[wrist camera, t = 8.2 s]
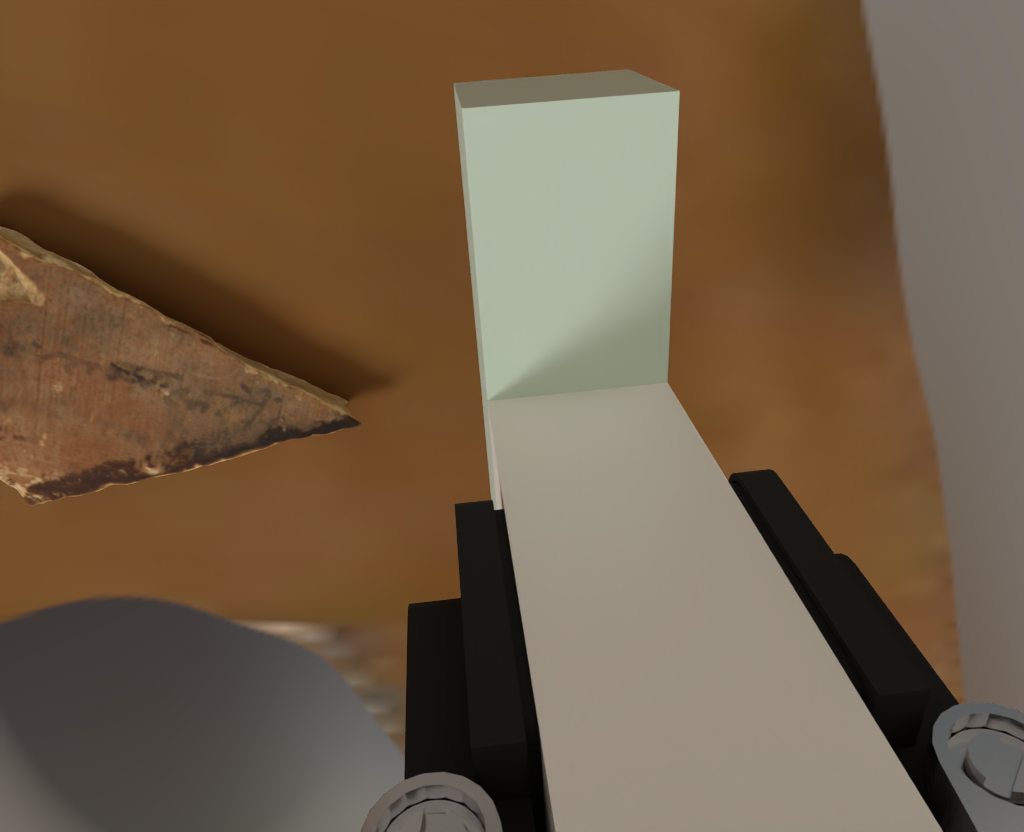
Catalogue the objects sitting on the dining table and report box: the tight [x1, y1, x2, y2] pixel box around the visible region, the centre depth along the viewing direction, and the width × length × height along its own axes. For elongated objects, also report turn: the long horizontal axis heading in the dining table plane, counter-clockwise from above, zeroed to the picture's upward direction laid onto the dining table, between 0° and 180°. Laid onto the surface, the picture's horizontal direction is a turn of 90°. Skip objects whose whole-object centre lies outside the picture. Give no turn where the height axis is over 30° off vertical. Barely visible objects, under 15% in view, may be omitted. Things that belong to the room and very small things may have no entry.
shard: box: [0, 226, 361, 506], centre depth 22 cm, size 11×8×2 cm
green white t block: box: [454, 69, 943, 832], centre depth 11 cm, size 12×3×13 cm, turn 4°
